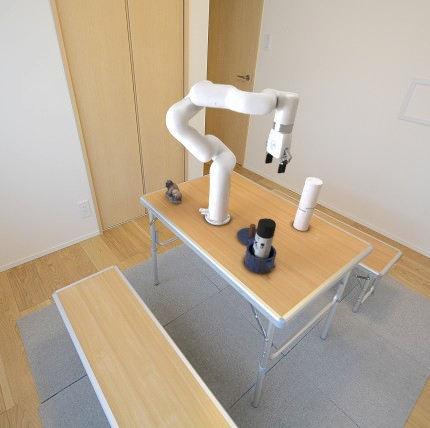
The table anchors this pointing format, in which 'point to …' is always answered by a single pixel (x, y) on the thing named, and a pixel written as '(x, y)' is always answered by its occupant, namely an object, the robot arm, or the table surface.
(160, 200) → the table surface
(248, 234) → the pan lid
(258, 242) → the spray can
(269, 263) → the pan
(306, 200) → the cylindrical container
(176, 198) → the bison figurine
